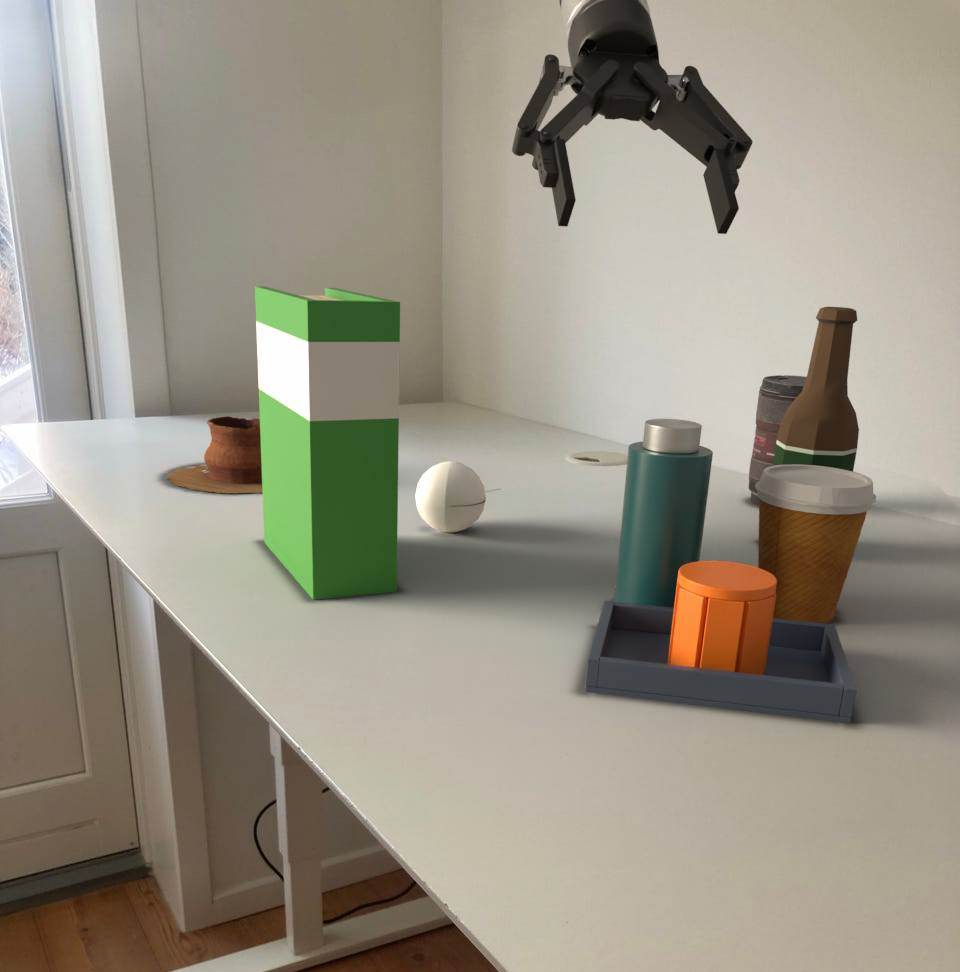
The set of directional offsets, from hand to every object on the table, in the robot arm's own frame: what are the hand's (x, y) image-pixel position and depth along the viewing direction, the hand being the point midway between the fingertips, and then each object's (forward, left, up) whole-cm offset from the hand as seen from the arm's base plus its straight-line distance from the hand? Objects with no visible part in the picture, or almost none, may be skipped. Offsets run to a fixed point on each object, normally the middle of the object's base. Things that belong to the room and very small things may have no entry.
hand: (648, 217), depth 82 cm
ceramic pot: (+48, -27, -31) cm, 63 cm away
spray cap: (-9, +19, -30) cm, 37 cm away
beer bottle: (-18, -18, -31) cm, 40 cm away
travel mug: (-17, -37, -31) cm, 51 cm away
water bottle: (-4, +7, -31) cm, 32 cm away
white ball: (+17, -13, -31) cm, 38 cm away
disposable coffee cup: (-16, +3, -31) cm, 35 cm away
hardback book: (+26, +4, -31) cm, 41 cm away
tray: (-9, +19, -31) cm, 37 cm away
